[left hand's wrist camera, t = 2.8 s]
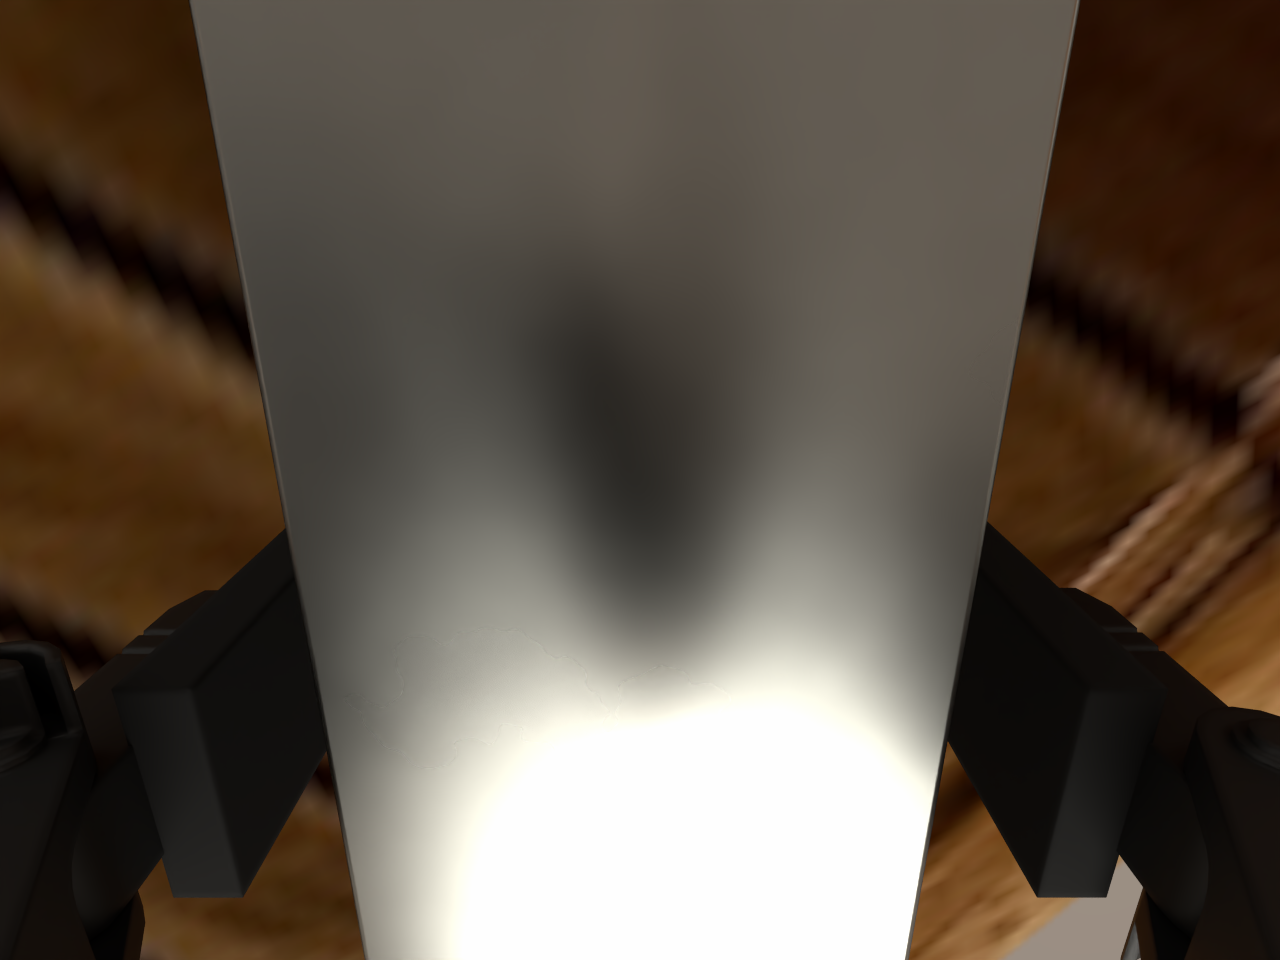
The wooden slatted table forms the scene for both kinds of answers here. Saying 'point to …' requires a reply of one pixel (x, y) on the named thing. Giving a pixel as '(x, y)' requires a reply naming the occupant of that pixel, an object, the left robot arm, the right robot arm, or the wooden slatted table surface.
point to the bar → (635, 441)
